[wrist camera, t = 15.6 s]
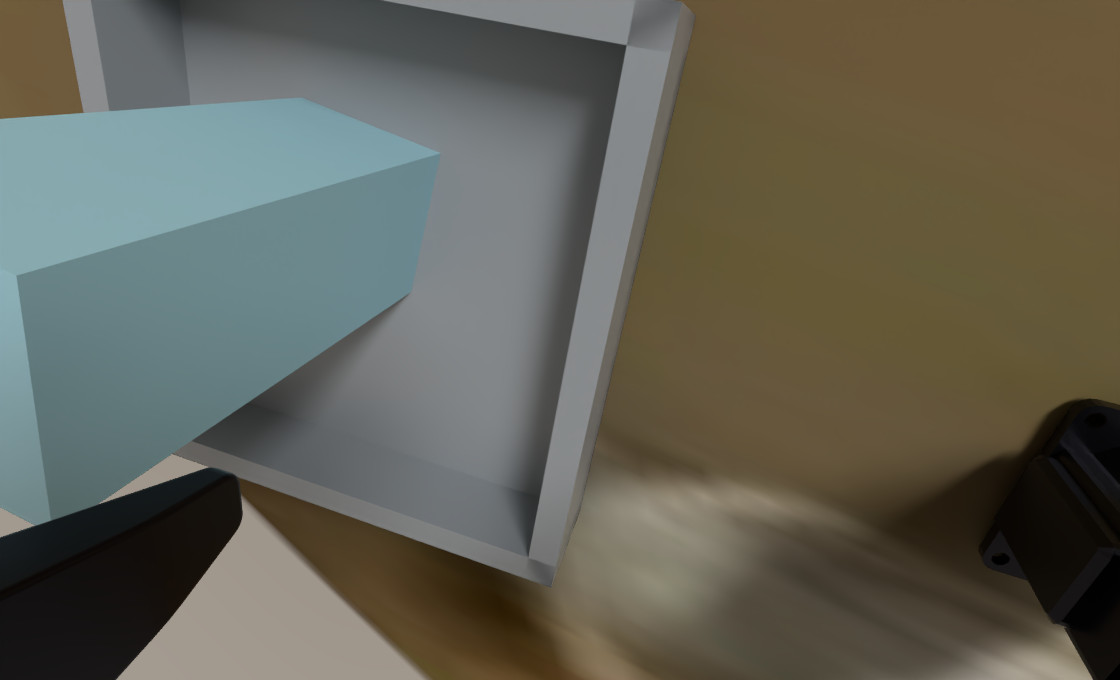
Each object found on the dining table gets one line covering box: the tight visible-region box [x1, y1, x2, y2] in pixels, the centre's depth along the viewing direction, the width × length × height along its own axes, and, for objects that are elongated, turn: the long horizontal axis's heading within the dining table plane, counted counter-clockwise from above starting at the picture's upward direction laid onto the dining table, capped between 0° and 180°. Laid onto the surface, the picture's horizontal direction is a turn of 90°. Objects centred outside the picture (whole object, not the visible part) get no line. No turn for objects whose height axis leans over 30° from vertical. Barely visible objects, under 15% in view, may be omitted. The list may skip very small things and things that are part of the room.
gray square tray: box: [63, 0, 696, 587], centre depth 20 cm, size 17×18×4 cm
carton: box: [0, 97, 441, 526], centre depth 14 cm, size 5×5×14 cm
